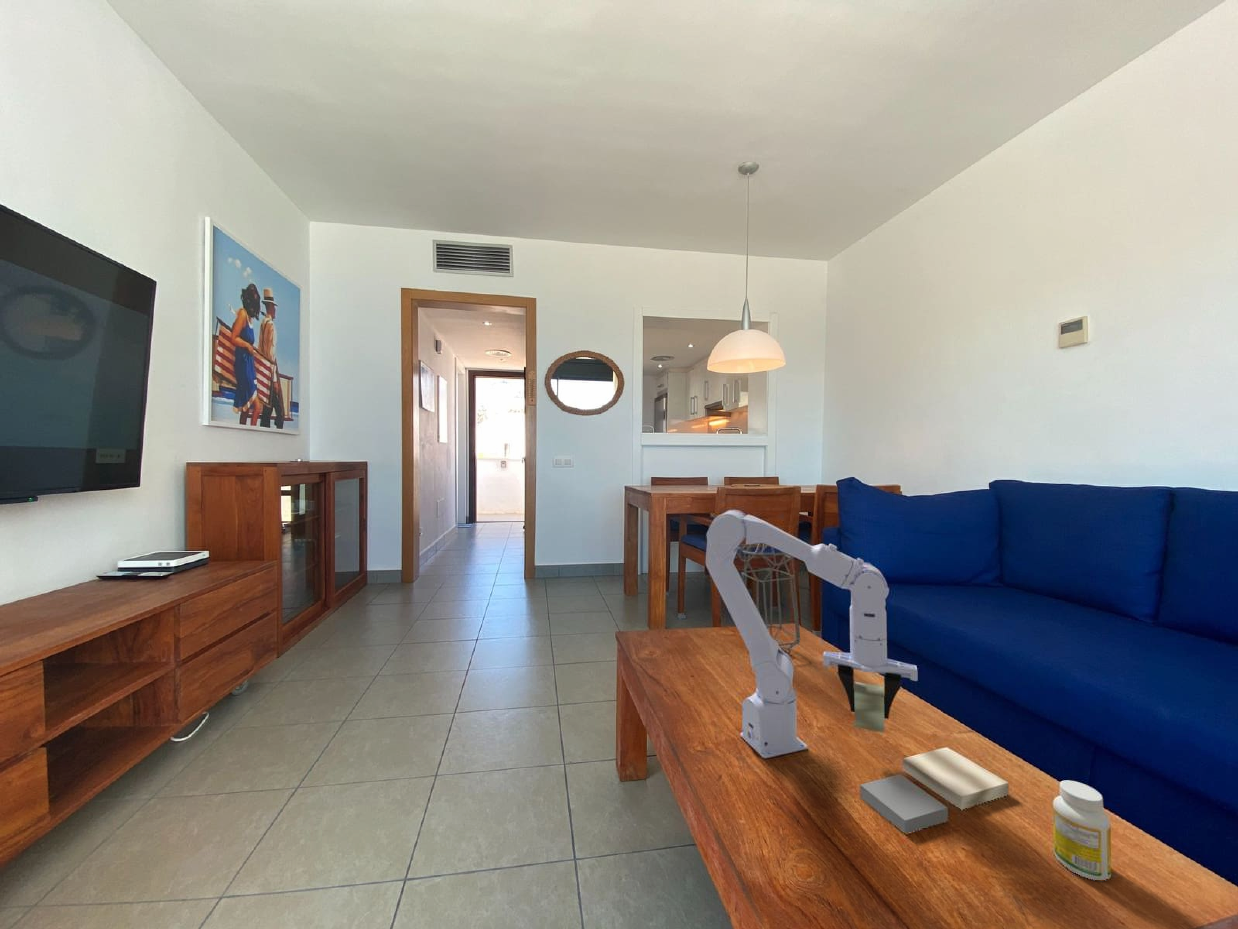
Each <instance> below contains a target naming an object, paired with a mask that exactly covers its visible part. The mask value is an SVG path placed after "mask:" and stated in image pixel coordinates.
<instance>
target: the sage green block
mask: <svg viewBox="0 0 1238 929" xmlns="http://www.w3.org/2000/svg"><path fill="white" fill-rule="evenodd" d="M854 699H855V712H854V727H855V728H857V729H858V728H859V729H863V730H869V731H872V732H876V733H877V732H878V733H882V734H885V730H886V729H885V718H884V686H883V685H882V686H881V685H877V684H876V685H875V684H870V683H864V682H859V681H854Z"/></svg>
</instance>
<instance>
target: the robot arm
mask: <svg viewBox="0 0 1238 929" xmlns="http://www.w3.org/2000/svg"><path fill="white" fill-rule="evenodd" d="M745 538H746V540H744V539H745ZM743 540H744V541H745V544H749V545H750V544H753V545H755V544H759V543H765V544H764V545H768V546H769V547H771V546H772V547H773V549H776V550H779V551H780V552H781V551H782V552H785V553H787V554H788V556H790V557H791V556H793V557H794V558H796V559H798V560H800V561H803V562H804V564H805V566H806V569H807V571H808V573H811V574H812V575H815V576H817V577H818V578H821V579H823V580H824V581H826V582H829V583H831V584H833V585H834V586H836V587H838V588H841V589H843V590H844V589H845V590H849V591H850V606H849V641H850V642H849V643H850V644H849V647H850V648H849V649H850V650H849V651H850V652H836V651H835V652H831V651H823V656H822V659H823V663H822V664H823V665H822V666H824V667H831V666H833V667H837V675H838V678H839V680H840V682H841V684H842V686H843V688H844V690H845V693H846V696H847V699H848V702H849V708H850V712H852V713H855V699H854V690H855V678H854V677H855V672H854V670H859V671H862V672H864V673H870V674H882V675H883V681H884V682H883V684H884V685H883V691H884V719H887V720H888V719H889V718H890V717H889V716H890V712H891V711H890V710H891V708H892V704H893V701H894V699H895V697H896V695H897V694H898V693H899V690H900V689H901V687H902V684H903V683H902V682H903V681H902V678H905V679H906V678H907V679H909V680H911V681H914V682H917V681H918V679H919V678H918V674H919V673H918V668H917V665H915V664H910V663H906V662H902V661H898V660H894V659H890V658H888V646H887V644H888V641H887V640H888V639H887V637H888V635H887V634H888V632H887V628H888V627H887V611H886V605H887V604H886V599H887V597H888V595H889V592H890V588H889V587H888V583H887V580H886V578H885V577H884V575H883V574H882V572H881V571H880V569H878V568H876V566H873V564H871V563H870V562H865V561H864V559H862V558H860V557H857V558H853V557H852V556H849V555H847V554H845V553H843V552H841V551H839V550H837V549H838V547H837V546H836V545H834V544H832V543H829V544H828V545H827V544H825V543H819V544H816V545H811V544H809V543H807V542H805V541H803V540H801V539H800V538H798V537H795V536H793V535H792V534H790V533H788V532H786V531H784V530H782V529H781V528H778V527H777V526H775V525H773V524H771V523H769V522H767V521H765V520H763V519H760V518H759V517H756V516H754V515H751V514H745V512H743V511H741V510H737V509H730V510H727V511H725V512H723V513H722V514H719V515H718V516H716V517H715V518H714V519H713V520H712V522H711V524H710V526H709V527H708V530H707V532H706V552H705V553H706V554H705V566H706V569H707V570H708V573H709V575H710V577H711V578H712V580H713V583H714V585H715V587H716V588H717V590H718V593H719V595H720V596H721V599H722V600H723V603H724V605H725V607H726V608H727V610H728V613H729V614H730V616H731V618H732V621H733V623H734V624H735V626H736V628H737V631H738V632H739V634H740V636H741V638H742V640H743V642H744V644H745V646H746V648H747V651H748V654H749V660H750V664H751V668H752V670H753V672H754V675H755V686H756V689H755V692H754V693H752V695H751V696H748V697H746V698H744V699H743V702H742V706H741V712H742V713H741V714H742V716H741V718H742V719H741V720H742V724H741V726H742V728H741V729H742V730H741V731H742V732H740V734H739V735H740V737H741V738H743V740H745V742H746V743H747V744H748V745H750V746H751V748H753V749H754V750H755V752H757V753H758V755H760V756H761V757H762V758H763V759H768V758H769V759H770V758H772V757H776V756H777V757H778V756H781V755H786V754H790V753H795V752H799V751H803V750H807V749H808V746H809V745H808V744H806V743H805V742H804V741H803V740H801V739H800V738H799V737H798V727H797V716H798V715H797V692H796V691H795V690H794V688H793V687H794V686H793V678H794V674H795V664H794V661H793V660H792V658H791V657H790V656H788V655H789V654H788V653H787V652H785V651H783V650H781V648H782V647H781V646H779V645H778V644H779V643H778V641H777V640H774V639H773V638H774V637H773V636H772V637H771V635H770V630H769V628H768V629H767V627H766V623H765V622H764V620H763V618H762V616H761V614H760V612H758V610H757V605H756V604H755V602H754V600H753V598H752V597H751V595H750V592H749V591H748V588H747V586H746V587H745V582H744V583H743V581H742V576H741V575H740V573H739V571H738V569H737V568H736V566H735V564H734V563H735V562H734V560H735V558H736V556H737V551H739V549H738V546H739V545H740V544H742V542H743ZM739 547H740V546H739ZM782 552H781V553H782Z"/></svg>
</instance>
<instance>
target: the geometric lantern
mask: <svg viewBox="0 0 1238 929" xmlns="http://www.w3.org/2000/svg"><path fill="white" fill-rule="evenodd" d="M743 541H746V538H745V539H744V540H743ZM743 541H742V542H743ZM761 546H762V549H761ZM768 546H769V545H767V544H765V543H755V544H746V543H745V544H743V543H740V545H739V546H738V550H737V553H736V556H738V558H739V559H740V561H741V562H743V563H744V564H743V566H744V567H743V572H741V579H742V581H743V583H744V585H745V587H746V588H747V583H748V582H747V578H749V579H751V580H753V581H756V608H757V610H758V612H759V611H760V602H759V600H760V598H759V597H760V596H759V595H760V594H759V593H760V592H759V587H760V586H759V583H762V590H763V592H762V593H763V606H764V616H765V618H764V619H765V620H764V621H765V622H764V623H765V625H766V627H767V629H768V630H769V633H770V635H771V637H772V638H773V639H774V640H775V641H776V642H779V643H778V645H779V647H780V648H781V650H782V651H783V652H784V653H786V654H787V655H788V656H789V657H790V656H791V655H792V654H791V649H792V648H793V647H795V646H796V645H799V644H800V643H801V631H800V621H799V611H798V610H799V609H798V600H797V587H796V575H795V574H796V573H795V568H794V558H795V557H793V556H791V555H789V554H787V553H785V552H782V551H780V552H777V553H776V552H775V548H774V547H772V546H770V549H771V552H764V551H765V550H766V549H767V548H768ZM752 547H756V549H755V551H752ZM742 553H743V557H744V558H743V557H742ZM746 555H748V558H747V556H746ZM755 556H761V557H762V558H763V559H764V560H765V561H766V563H767V565H768V566H769V567H770V568H764V569H753V567H752V565H751V563H750V562H751V560H752V559H753V558H755ZM768 556H773V560H774V561H772V560H771V559H770V558H769V557H768ZM776 556H782V558H781V560H780V562H777V561H776V560H777V559H776ZM786 558H787V559H786ZM790 561H791V566H792V573H793V574H791V572H790V569H789V567H788V564H787V563H788V562H790ZM770 563H771V564H772V565H773V566H772V565H771V564H770ZM782 565H784V567H785V568H786V571H787V572H786V571H782V570H779V569H780V567H781V566H782ZM776 566H777V567H776ZM775 567H776V568H775ZM748 568H749V569H750V570H748ZM762 571H763V572H764V571H769V572H768V573H767V575H766V576H765V578H764V580H761V579H759V578H758V576H757V575H756V573H755V572H762ZM773 572H775V573H776V574H775V575H776V576H775V577H776V578H773ZM779 572H780V573H782V574H785V575H787V576H789V577H786V578H785V577H784V578H779ZM748 573H752V574H753V576H754V577H752V576H751V575H748ZM768 577H770V579H768ZM785 580H789V582H790V584H789V585H790V592H791V600H792V601H791V602H792V608H793V618H794V626H795V633H792V632H790V631H789V630H787V629H785V628H784V627H782V626H783V625H782V610H781V594H780V581H785ZM775 581H776V587H777V588H776V589H777V603H778V605H777V606H778V618H779V626H778V625H773V582H775ZM767 582H770V584H769V587H770V590H769V591H770V593H769V594H770V595H769V596H770V598H769V599H770V600H769V601H770V602H769V603H770V604H769V605H770V606H769V607H770V608H769V610H770V611H769V614H770V616H769V618H770V619H769V621H770V622H768V609H767V598H766V597H767V595H766V583H767ZM759 613H760V612H759ZM768 623H769V624H768ZM772 628H773V629H774V628H775V629H778V630H777V632H776V634H775V635H774V637H773V635H772V634H773V633H772ZM780 631H784V632H785V633H787V634H788V635H790V636H792V637H794V638H795V640H794V641H792V642H784V641H781V640H779V639H777V636H778V634H779V632H780ZM784 646H787V647H784ZM782 647H784V648H782Z"/></svg>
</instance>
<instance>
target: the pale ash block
mask: <svg viewBox="0 0 1238 929" xmlns="http://www.w3.org/2000/svg"><path fill="white" fill-rule="evenodd" d="M902 771H903V772H905V773H907V775H909V776H911V777H912V778H914V779H915V780H917V781H918V782H920V783H921V784H922V785H924V786H925V787H927V788H928V789H930V790H931V791H933V793H936V794H937V795H938V794H939V797H941V798H943V799H944V800H946V801H947V802H949V803H950V804H951V805H953V804H954V805H955V807H956V808H957V807H958V808H957V809H959V808H960V809H961V810H960V809H959V810H960V811H963V809H964V810H966V809H965V808H967V809H970V808H973V806H974V805H977V804H980V805H982V803H983V804H985V803H984V802H986V803H988V802H987V801H990V802H992V801H991V800H993V801H995V800H994V799H996V800H998V799H997V798H999V797H1002V798H1005V797H1004V796H1006V797H1008V796H1007V795H1010V794H1009V782H1008V781H1007V780H1005V779H1003V778H1001V777H1000V776H997V775H996V774H994V773H992V772H990V771H989V770H987V769H985V768H984V767H982V766H980V765H979V764H977V763H975V762H973V761H972V760H970V759H968V758H966V757H964V756H963V755H962V754H960V753H958V752H956V751H954V750H953V749H950V748H949V747H943V748H942V747H941V748H937V749H935V750H931V751H927V752H923V753H918V754H915V755H912V756H907V757H904V758H902ZM999 799H1000V798H999ZM954 805H953V806H954ZM977 806H978V805H977ZM974 807H975V806H974Z"/></svg>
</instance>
